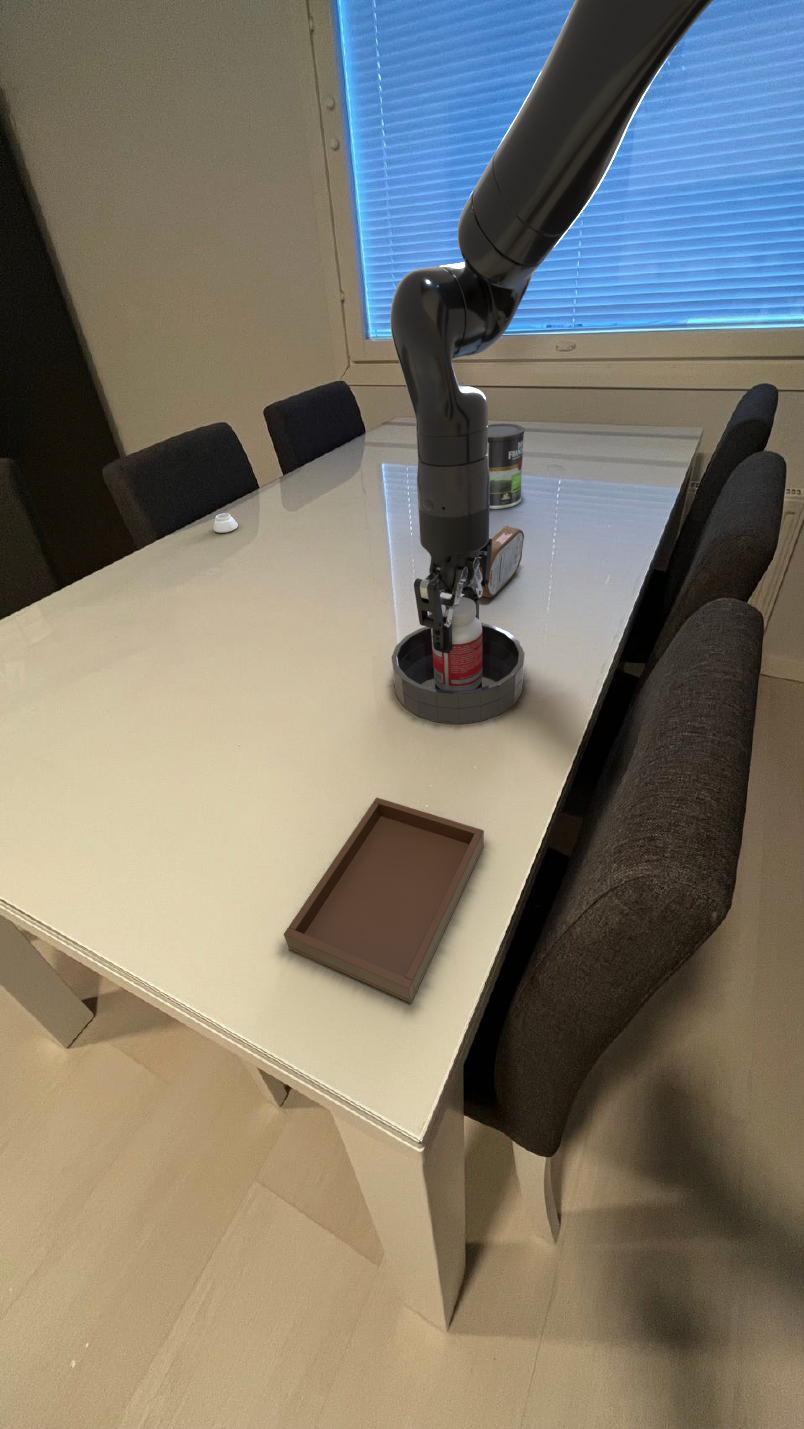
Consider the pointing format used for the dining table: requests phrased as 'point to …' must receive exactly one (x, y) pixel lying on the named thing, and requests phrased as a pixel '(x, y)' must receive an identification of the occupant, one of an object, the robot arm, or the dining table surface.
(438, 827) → the tray
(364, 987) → the dining table surface
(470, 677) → the pill bottle
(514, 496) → the coffee can
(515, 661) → the bowl
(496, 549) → the tin
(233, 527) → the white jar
